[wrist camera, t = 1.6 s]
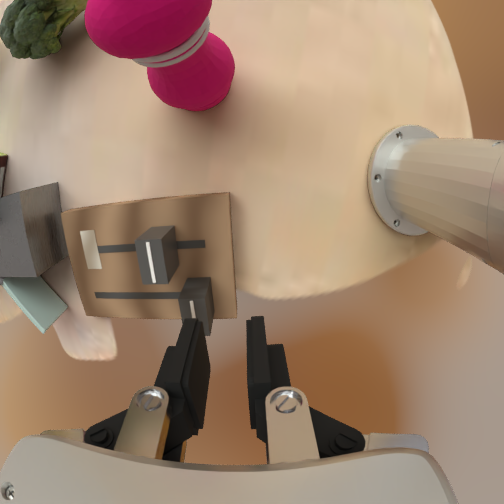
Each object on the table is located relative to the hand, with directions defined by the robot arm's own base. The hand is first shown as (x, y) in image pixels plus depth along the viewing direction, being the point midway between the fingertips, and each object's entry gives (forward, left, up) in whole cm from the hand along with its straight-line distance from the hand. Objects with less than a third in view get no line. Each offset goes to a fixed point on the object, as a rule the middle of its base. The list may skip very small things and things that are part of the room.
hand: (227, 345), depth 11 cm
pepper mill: (+3, -16, -17) cm, 24 cm away
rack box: (+26, -3, -17) cm, 31 cm away
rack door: (+28, +5, -17) cm, 33 cm away
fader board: (+10, +2, -17) cm, 20 cm away
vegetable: (+20, -30, -17) cm, 40 cm away
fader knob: (+7, 0, -15) cm, 17 cm away
